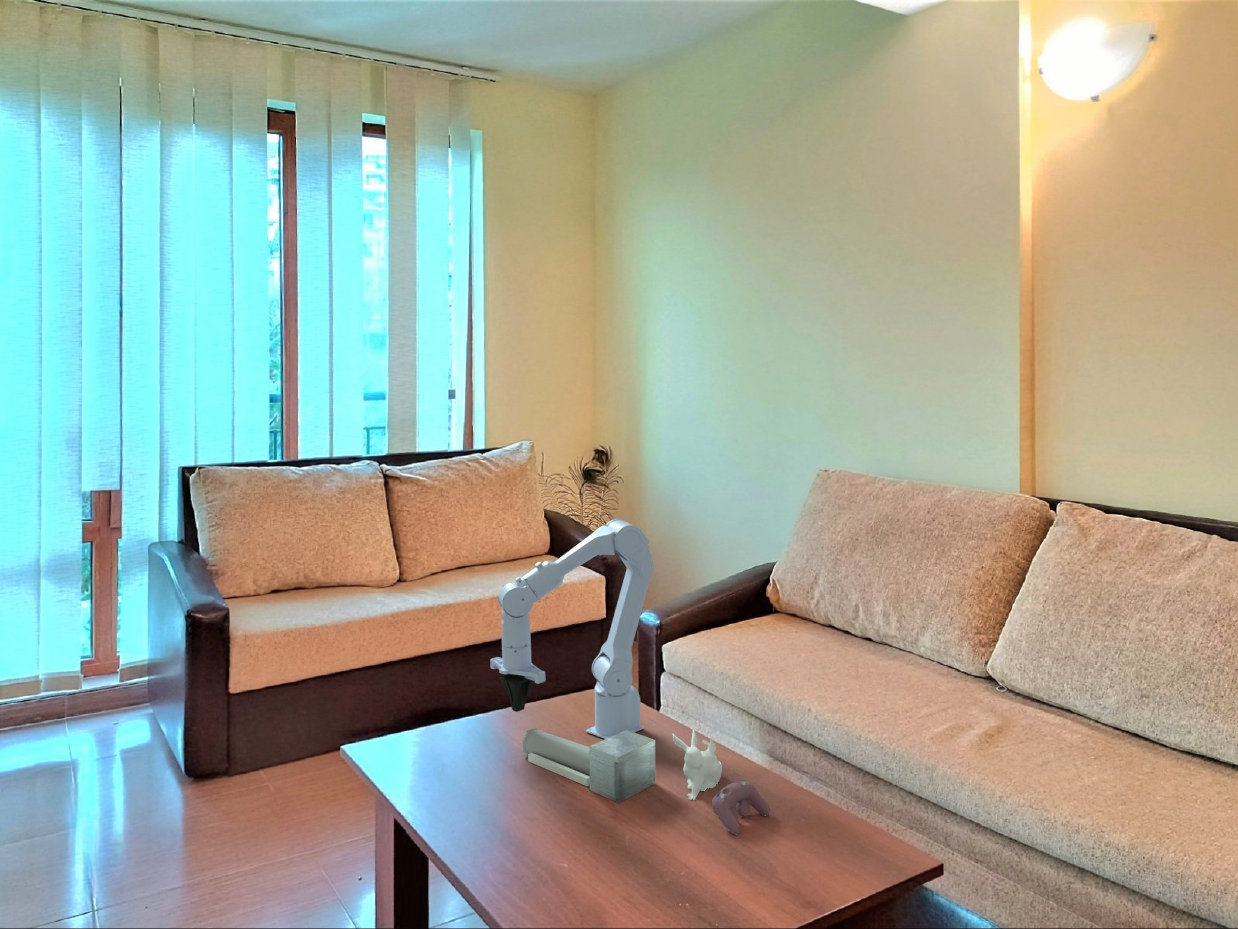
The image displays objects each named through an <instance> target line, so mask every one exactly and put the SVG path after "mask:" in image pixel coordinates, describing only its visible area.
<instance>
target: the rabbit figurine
mask: <svg viewBox="0 0 1238 929" xmlns="http://www.w3.org/2000/svg"><path fill="white" fill-rule="evenodd" d="M671 734H672V740H673V742H674V744H675V745H676V746H677V747H679V748H680V749H682V750H683V751H684V752H685V755H684V765H683V774H684V775H685V777H686V778H687V781H686V783H687V784H688V785H687V789H689V790H691V793H687V794H686V795H685V796H686V797H688V798H687V800H690V801H696V799H697V797H698V794H699V793H700V791H704V792H706V791H707V790H710V789H709V788H713V787H714V788H715V787H716V786H717V785H718V784H719V783H718V782H720V779H721V778H722V777H721V776H722V773H723V765H722V763H721V762H722V761H720V760H718V756H717V754H716V750H717V747H716V743H715V742H713V739H712V738H710V739H709V741H707V740H705V739H702V741H701V742H702V745H703V744H704V745H706V746H707V749H705V750H700V749H699V748H698V747H697V744H698V736H697V735H696V731H695V729H694V728H693V729H692V736H691V743H690V746H688V745H687V743H685V742H684V741H683V740H681V739H680V738H679V737H677V736H676V734H675V733H671ZM716 784H717V785H716ZM707 788H708V789H707ZM714 788H713V789H714ZM706 789H707V790H706ZM705 790H706V791H705Z"/></svg>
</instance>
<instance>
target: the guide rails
mask: <svg viewBox="0 0 1238 929" xmlns="http://www.w3.org/2000/svg"><path fill="white" fill-rule="evenodd" d="M527 762H529V763H532V764H534V765H536V766H539V767H541V768H543V769H546V770H548V771H551V772H553V773H556V775H559V776H562V777H564V778H567V779H569V780H571V781H573V782H576V783H579V784H581V785H583V786H585V787H590V775H587V774H584V773H582V772H579V771H576V770H573V769H571V768H568V767H565V766H563V765H561V764H558V763H556V762H553V761H551V760H549V759H546V758H544V757H541V756H539V755H536V754H534V753H530V754H527Z"/></svg>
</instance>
